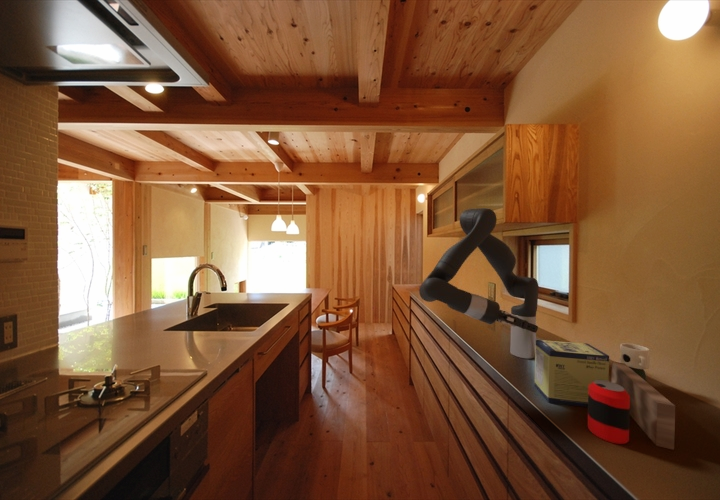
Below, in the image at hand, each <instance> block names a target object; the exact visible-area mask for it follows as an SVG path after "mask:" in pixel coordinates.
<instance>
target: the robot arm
mask: <svg viewBox="0 0 720 500" xmlns="http://www.w3.org/2000/svg"><path fill="white" fill-rule="evenodd" d="M497 220H498V219H497V215H496V212H495V211H494V210H493V209H491V208H469V209H465V210H464V211H462V212H461V214H460V215H459V225H460V228H461V229H462V232H463V233H464V234H465V237H463V238H462V239H460V240H459V241H458V242H456V243H455V244H453V245H452V246H450V247H448V249H447V250H446V251H445V252H444V253H443V254H442V255H441V258H440V259H439V260H438V261H437V263H436V264H435V267H434V268H433V269H432V270H431V272H430V273H429V274H428V275H427V277H426V278H425V279H424V280H423V281H422V283H421V284H420V286H419V290H418V294H419V296H420V298H421V299H422V300H423V301H425V302H428V303H429V302H430V303H432V302H436V301H439V302H441V303H443V304H445V305H447V306H448V308H450V309H452V310H454V311H456V312H458V313H461V314H463V315H466V316H468V317H469V318H472V319H475V320H478V321H480V322H483V323H485V324H488V325H493V324H495V322H499V323H500V324H503V325H508V326H510V347H509V348H510V352H509V353H510V354H511V355H513V356H515V357H516V358H520V359H521V358H522V359H528V360H529V359H535V348H536V340H537V337H536V335H537V332H538V329H539V326H538V325H537V310H538V299H539V282H538V280H537V278H534V277H528V276H518V275H516V274H515V273H514V269H515V266H516V264H517V259H516V256H515V254H514V252H513V251H512V249H511V248H510V247H509V245H507V243H505V242H504V241H502V240H501V239H500V238H498V237H496V236H494V235H493V234H492V232H493V231H494V230H495V227H496V225H497ZM476 249H479V251H480V252H481V253H482V255H483V256H484V257H485V259H486V260H487V262H488V263H489V265H490V266H491V268H493V270H494V271H495V272H496V274H497V276H498V277H499V279H500V280H501V282H502V284H503V286H504V287H505V289H506V291H507V293H508V294H509V295H510V296H511V297H514V298H518V299H524V300H523V303H522V304H518V305H513V306H511V308H510V309H511V310H510V312H509V311H505V310H503V309H501V307H500V304H499V303H498V302H497V301H495V300H492V299H489V298H486V297H484V296H482V295H479V294H474V293H472V292H469V291H466V290H463V289H461V288H458V287H456V286H454V285H453V284H452V283H450V281H452V280H453V278H454V277H455V276H456V275H457V273H458V272H459V271H460V269H461V267H462V266H463V264H464V263H465V261H467V259H468V258H469V257H470V255H471V254H473V252H474V251H475V250H476Z"/></svg>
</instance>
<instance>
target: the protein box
mask: <svg viewBox="0 0 720 500" xmlns="http://www.w3.org/2000/svg"><path fill="white" fill-rule="evenodd" d="M609 371H610V355H608V354H607V353H605V352H604V351H601V350H600V349H598V348H596V347H594V346H593V345H591V344H589V343H584V342H568V341H558V340H555V341H554V340H543V339H536V346H535V358H534V387H535V389H536V390H537V391H538V392H539V393H540V394H541V396H542V397H543V398H544V400H546V401H547V403H549V404H550V403H551V404H558V405H564V406H565V405H566V406H572V407H573V406H575V407H581V408H582V407H583V408H588V388H589V385H590V384H591V383H592V382H594V381H595V380H604V381H609V379H610V376H609V374H610V373H609ZM609 382H610V381H609Z"/></svg>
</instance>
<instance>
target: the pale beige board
mask: <svg viewBox="0 0 720 500" xmlns="http://www.w3.org/2000/svg"><path fill="white" fill-rule="evenodd" d="M610 382H613V383H615V384H618V385H620V386H622V387H623V388H624V389H625V391H626V392H627V393H628V394H629V396H630V417H631V418H632V419H633V420H634V422H636V424H637V425H638V426H639V427H640V429H641V430H642V431H643V433H645V435H647V437H648V438H649V440H651V442H652V443H653V444H654V446H657V447H661V448H665V449H668V450H675V436H676V435H675V428H676V425H675V424H676V423H675V422H676V405H675V404H674V403H673V402H671V401H670V400H669V399H668V398H666V396H664V395H663V394H662V393H660V392H659V391H658V390H657V389H655V388H654V386H652V385H651V384H650V383H648V382H646V381H645V380H644V379H642V378H641V377H640V376H639V375H638V374H636V373H635V372H634V371H633V370H632V369H631V368H629V367H628V366H627V365H626V364H625V363H621V362H620V361H619V362H617V361H611V381H610Z"/></svg>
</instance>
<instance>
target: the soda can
mask: <svg viewBox="0 0 720 500" xmlns="http://www.w3.org/2000/svg"><path fill="white" fill-rule="evenodd" d="M630 417H631V416H630V396H629V394H628V393H627V392H626V391H625V389H624V388H623V387H622V386H620V385H618V384H615V383H613V382H611V381H604V380H595V381H594V382H592V383H591V384H590V385H589V388H588V407H587V428H588V430H589V431H590V432H591V433H592V434H593V435H594V436H596V437H597V438H599V439H601V440H603V441H605V442H609V443H612V444H614V445H615V444H616V445H624V444H627V443H628V442H629V441H630Z"/></svg>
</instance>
